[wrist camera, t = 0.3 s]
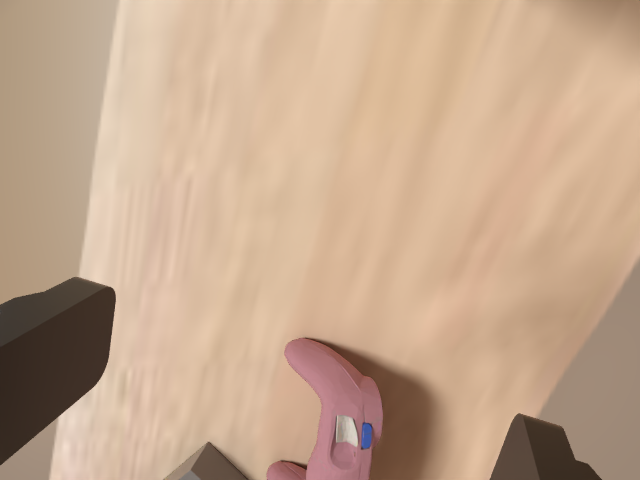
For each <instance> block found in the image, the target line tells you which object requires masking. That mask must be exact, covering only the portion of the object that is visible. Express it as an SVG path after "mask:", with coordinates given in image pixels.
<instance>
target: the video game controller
mask: <svg viewBox="0 0 640 480" xmlns="http://www.w3.org/2000/svg"><path fill="white" fill-rule="evenodd" d="M284 354H285V357H286V359H287V361H288V363H289V365H290V366H291V367H292V368H293V369H294V370H295V371H296V372H297V373H298V374H299V375H300V376H301V377H302V378H303V379H304V380H305V381H306V382H307V383H308V384H309V385H310V386H311V387H312V388H313V389H314V391H315V392H316V394H317V395H318V396H319V398H320V400H321V404H322V410H321V416H320V422H319V428H318V435H317V443H316V445H315V448H314V450H313V452H312V454H311V457H310V460H309V462H308V466H307V471H306V470H305V469H303V468H302V467H299V466H297V465H295V464H293V463H290V462H282V461H278V462H275V463H273V464H272V465H271V466H270V467H269V468H268V471H267V480H369V477H370V469H371V460H372V449H373V448H374V447H375V446H376V445H377V444H378V442H379V440H380V437H381V434H382V427H383V411H382V401H381V397H380V393H379V390H378V387H377V385H376V383H375V382H374V380H373V379H372V378H371V377H368V376H363V375H362V374H361V373H360V372H359V371H358V370H357V369H356V368H355V367H354V366H353V365H352V364H350V363H349V362H348V361H347V360H346V359H344V358H343V357H342V356H341V355H339V354H338V353H336V352H335V351H334V350H332V349H331V348H329V347H327V346H325V345H323V344H321V343H319V342H316V341H313V340H310V339H304V338H299V339H296V340H292V341H291V342H289V343H288V344H287V345H286V348H285V352H284Z"/></svg>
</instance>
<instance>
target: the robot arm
mask: <svg viewBox="0 0 640 480" xmlns="http://www.w3.org/2000/svg"><path fill="white" fill-rule="evenodd" d="M115 302H116V295H115V291H114V290H113V288H111V287H109V286H105V285H102V284H99V283H96V282H92V281H89V280H86V279H82V278H79V277H74V278H71V279H69V280H67V281H65V282H63V283H61V284H59V285H57V286H55V287H53V288H51V289H49V290H47V291H45V292H40V293H35V294H31V295H26V296H22V297H17V298H13V299H11V300H9V301H7V302H5V303H3V304H1V305H0V465H1V464H3V463H4V462H5V461H6V460H7V459H8V458H9V457H11V456H12V455H13V454H14V453H16V452H17V451H18V450H19V449H20V448H22V447H23V446H24V445H25V444H26V443H28V442H29V441H30V440H31V439H32V438H34V437H35V436H36V435H37V434H38V433H39V432H41V431H42V430H43V429H44V428H45V427H47V426H48V425H49V424H50V423H51V422H53V421H54V420H55V419H56V418H57V417H59V416H60V415H61V414H62V413H63V412H64V411H66V410H67V409H68V408H69V407H70V406H72V405H73V404H74V403H75V402H76V401H78V400H79V399H80V398H81V397H82V396H83V395H85V394H86V393H87V392H88V391H89V390H91V389H92V388H93V387H94V386H95V385H96V384H97V382H98V381H99V380H100V378H101V376H102V375H103V373H104V371H105V368H106V365H107V362H108V358H109V351H110V343H111V335H112V327H113V319H114V311H115ZM490 480H602V479H601V478H600V477H599V476H598V475H597V474H596V473H595V471H594V470H593V469H592V468H591V467H590V466H589V465H588V464H586V463H583V462H580V461H577V460H575V458H574V455H573V452H572V450H571V448H570V444H569V442H568V439H567V437H566V434H565V431H564V429H563V428H562V427H561V426H558V425H556V424H552V423H549V422H546V421H543V420H539V419H536V418H533V417H529V416H526V415H523V414H517V415H516V416H515V418H514V419H513V421H512V423H511V425H510V428H509V431H508V433H507V436H506V438H505V441H504V444H503V446H502V449H501V452H500V454H499V457H498V459H497V462H496V465H495V467H494V470H493V473H492V475H491V478H490Z"/></svg>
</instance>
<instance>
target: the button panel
mask: <svg viewBox="0 0 640 480" xmlns="http://www.w3.org/2000/svg"><path fill="white" fill-rule="evenodd" d="M164 480H248V479H247V478H246V477H245V476H243V475H242V474H241V473H240V472H239V471H238V470H237V469H236V468H235V467H234V466H233V465H232V464H231V463H230V462H229V461H228V460H227V459H226V458H225V457H224V456H223V455H221V454H220V453H219V452H218V451H217V450H216V449H215V448H214V447H213V446H212V445H211V444H210V443H209V442H207V443H206V444H205V445H204V446H203V447H202V448H200V449H199V450H198V451H197V452H196V453H194V454H193V455H192V456H191V457H190V458H189V459H187V460H186V461H185V462H184V463H183V464H181V465H180V466H179V467H178V468H177V469H176V470H174V471H173V472H172V473H171V474H170V475H168V476H167V477H166V478H165V479H164Z"/></svg>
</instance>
